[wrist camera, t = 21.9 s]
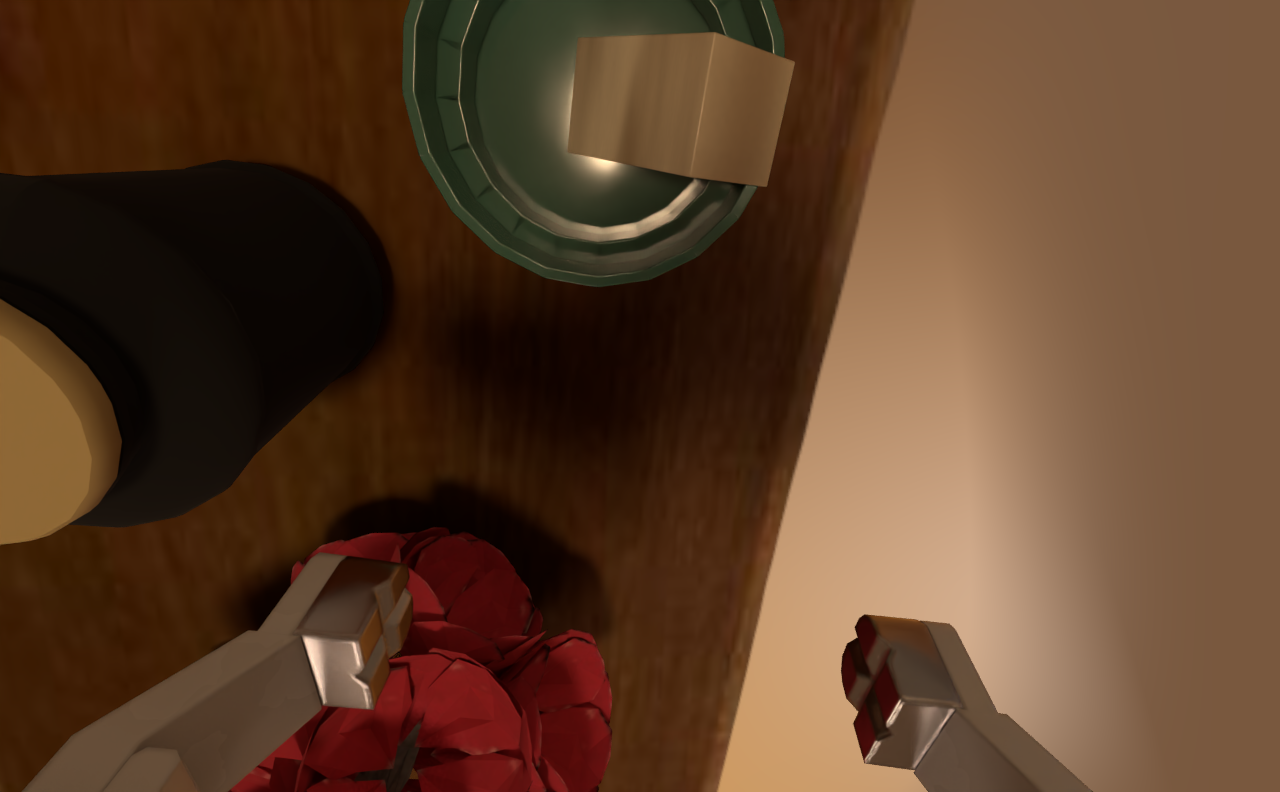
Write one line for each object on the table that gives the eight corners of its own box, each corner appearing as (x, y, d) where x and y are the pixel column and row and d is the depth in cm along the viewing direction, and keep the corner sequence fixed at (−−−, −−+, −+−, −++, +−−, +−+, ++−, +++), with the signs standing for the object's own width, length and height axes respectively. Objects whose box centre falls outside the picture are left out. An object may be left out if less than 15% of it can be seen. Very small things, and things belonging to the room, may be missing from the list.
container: (450, 298, 32) (264, 463, 15) (305, 417, 34) (12, 669, 18) (271, 102, 28) (-248, 37, 11) (123, 255, 30) (-474, 386, 14)
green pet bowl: (744, -110, 25) (779, -182, 19) (760, 240, 31) (790, 261, 25) (407, -58, 25) (347, -114, 20) (487, 278, 31) (458, 306, 26)
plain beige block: (656, 60, 27) (795, 61, 22) (641, 163, 29) (767, 187, 23) (577, 37, 24) (715, 31, 19) (566, 152, 26) (689, 177, 20)
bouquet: (411, 678, 52) (702, 773, 36) (105, 998, 34) (411, 1484, 18) (295, 478, 45) (592, 482, 29) (-166, 748, 27) (-74, 1170, 11)
